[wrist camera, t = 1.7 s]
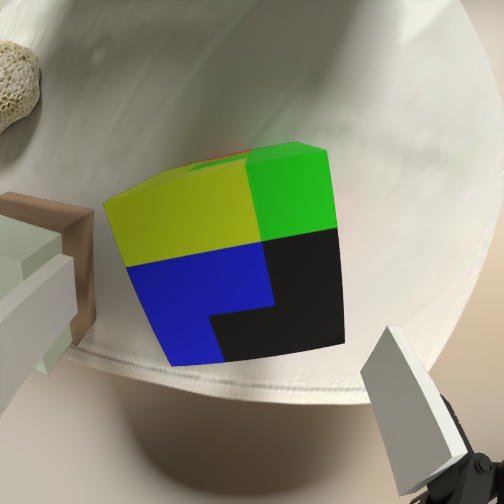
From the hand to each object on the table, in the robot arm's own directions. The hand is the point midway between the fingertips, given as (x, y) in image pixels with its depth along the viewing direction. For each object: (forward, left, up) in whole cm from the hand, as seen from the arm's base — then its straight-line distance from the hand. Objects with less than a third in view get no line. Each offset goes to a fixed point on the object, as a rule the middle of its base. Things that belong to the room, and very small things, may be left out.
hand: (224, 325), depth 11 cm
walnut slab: (+8, -19, -13) cm, 24 cm away
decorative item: (-9, -26, -13) cm, 31 cm away
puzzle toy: (0, 0, -13) cm, 13 cm away
